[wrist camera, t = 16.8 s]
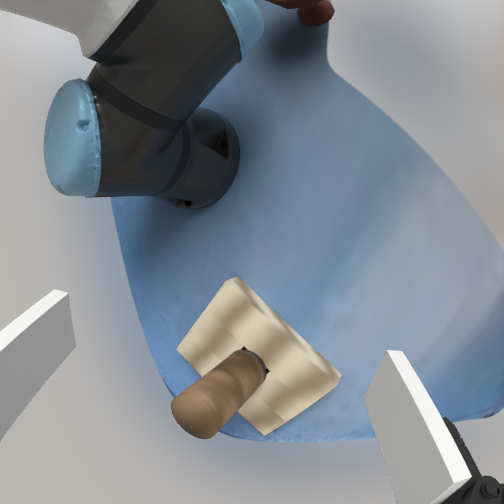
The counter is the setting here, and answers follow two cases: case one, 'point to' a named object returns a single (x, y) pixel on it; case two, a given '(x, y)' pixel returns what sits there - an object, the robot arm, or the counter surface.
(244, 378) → the walnut peg
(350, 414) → the counter surface
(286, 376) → the birch board
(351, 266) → the counter surface
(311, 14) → the ice cream bowl
